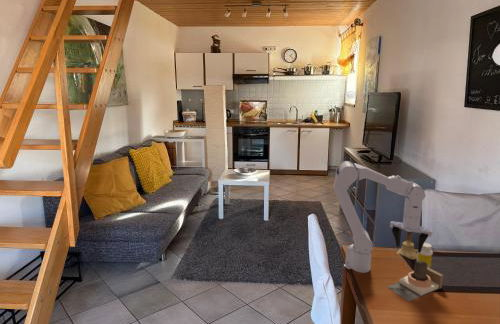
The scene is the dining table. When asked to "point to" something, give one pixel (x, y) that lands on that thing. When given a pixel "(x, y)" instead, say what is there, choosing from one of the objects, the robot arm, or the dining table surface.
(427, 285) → the square socket base
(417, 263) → the dowel
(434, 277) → the l-shaped bracket
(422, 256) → the supplement bottle
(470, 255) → the dining table surface
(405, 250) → the hand bell
